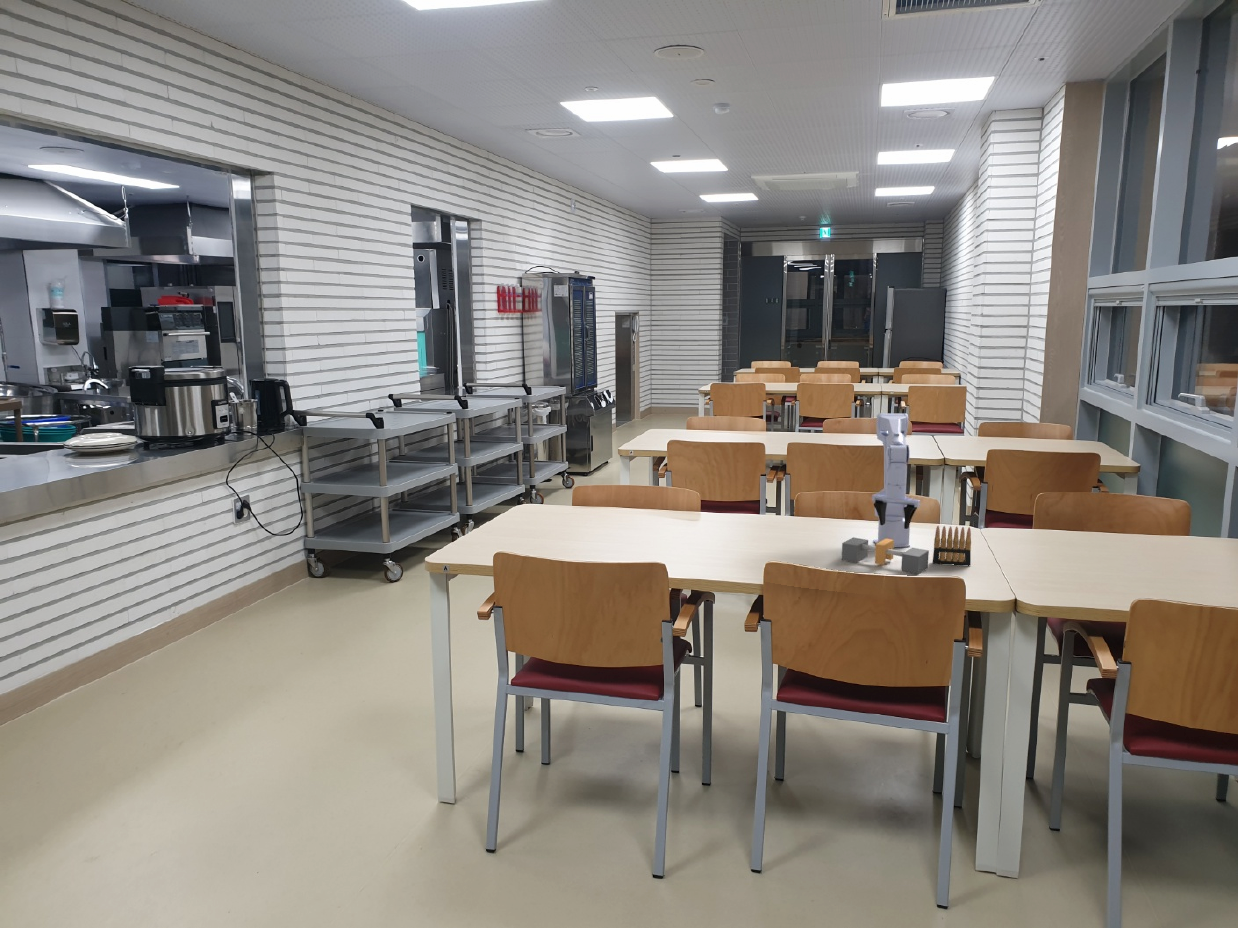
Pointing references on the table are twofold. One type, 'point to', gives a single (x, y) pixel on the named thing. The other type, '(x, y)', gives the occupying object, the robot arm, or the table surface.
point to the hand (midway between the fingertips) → (894, 526)
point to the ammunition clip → (953, 553)
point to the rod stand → (911, 559)
